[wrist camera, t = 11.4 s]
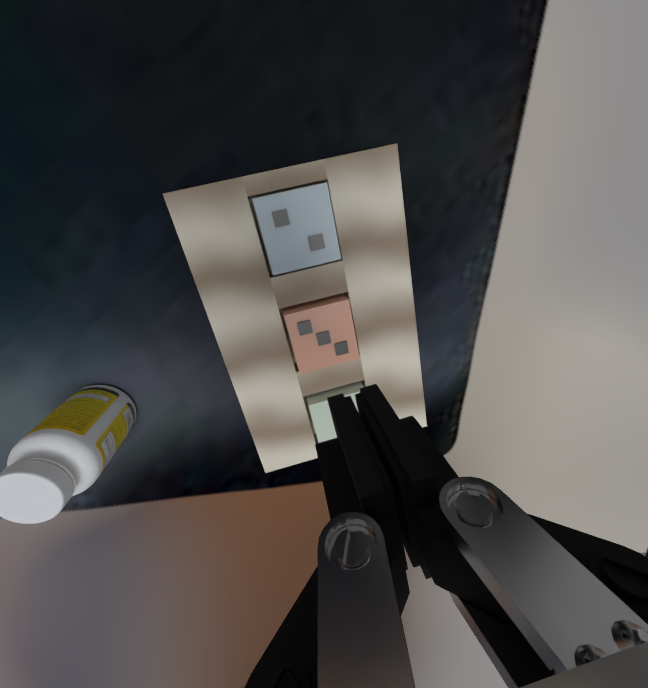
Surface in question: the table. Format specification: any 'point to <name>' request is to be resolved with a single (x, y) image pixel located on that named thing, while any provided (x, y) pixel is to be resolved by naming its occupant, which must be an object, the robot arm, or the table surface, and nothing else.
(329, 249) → the key two dots
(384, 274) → the key panel
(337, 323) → the key three dots
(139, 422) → the table surface
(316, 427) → the key one dot
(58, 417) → the supplement bottle
